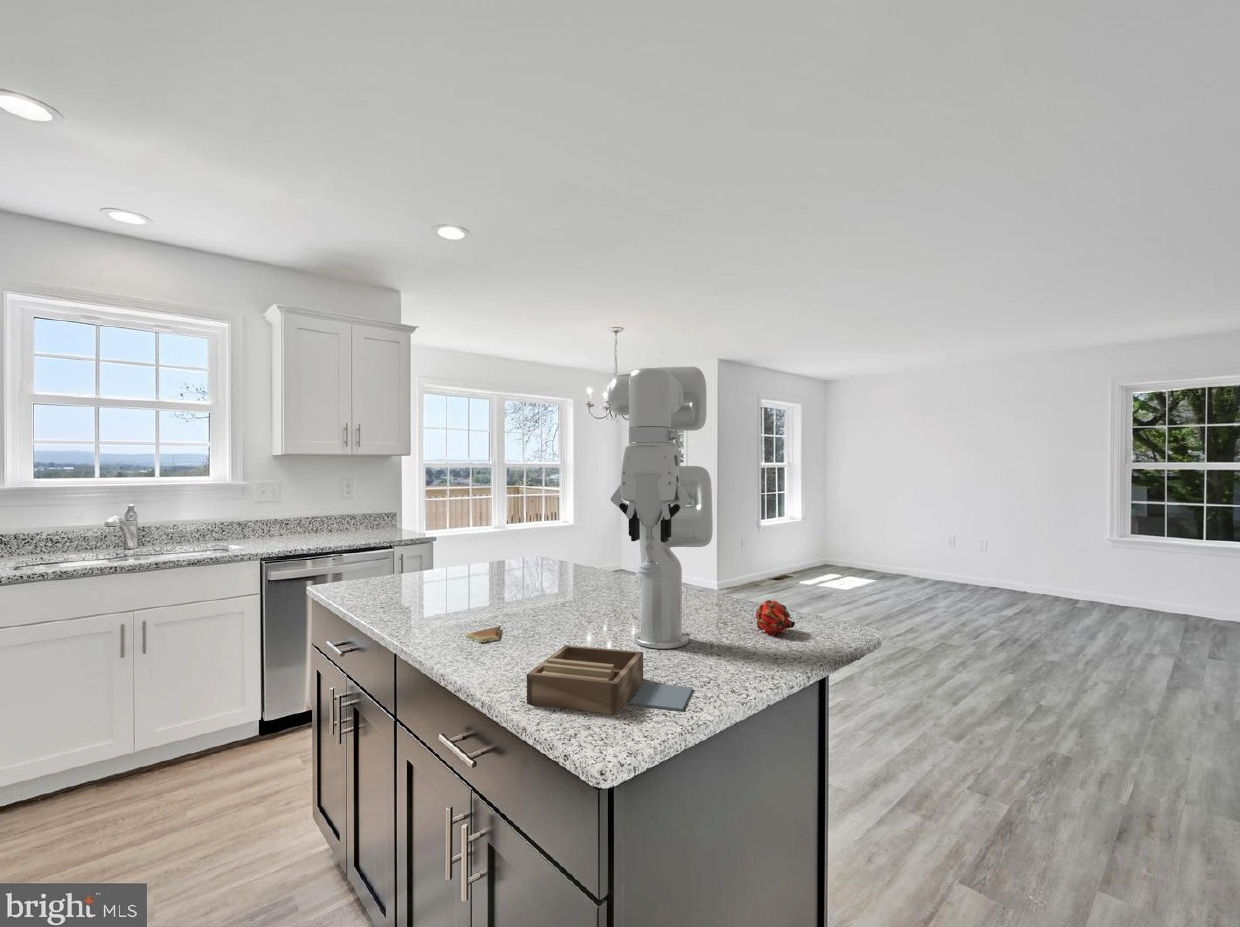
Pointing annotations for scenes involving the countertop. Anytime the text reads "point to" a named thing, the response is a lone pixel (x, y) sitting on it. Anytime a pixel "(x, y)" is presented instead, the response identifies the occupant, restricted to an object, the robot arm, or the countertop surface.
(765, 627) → the dragon fruit
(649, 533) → the chalice
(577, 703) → the frame
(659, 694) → the mat
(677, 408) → the robot arm
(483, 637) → the shard
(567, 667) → the offcut stack
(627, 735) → the countertop surface
